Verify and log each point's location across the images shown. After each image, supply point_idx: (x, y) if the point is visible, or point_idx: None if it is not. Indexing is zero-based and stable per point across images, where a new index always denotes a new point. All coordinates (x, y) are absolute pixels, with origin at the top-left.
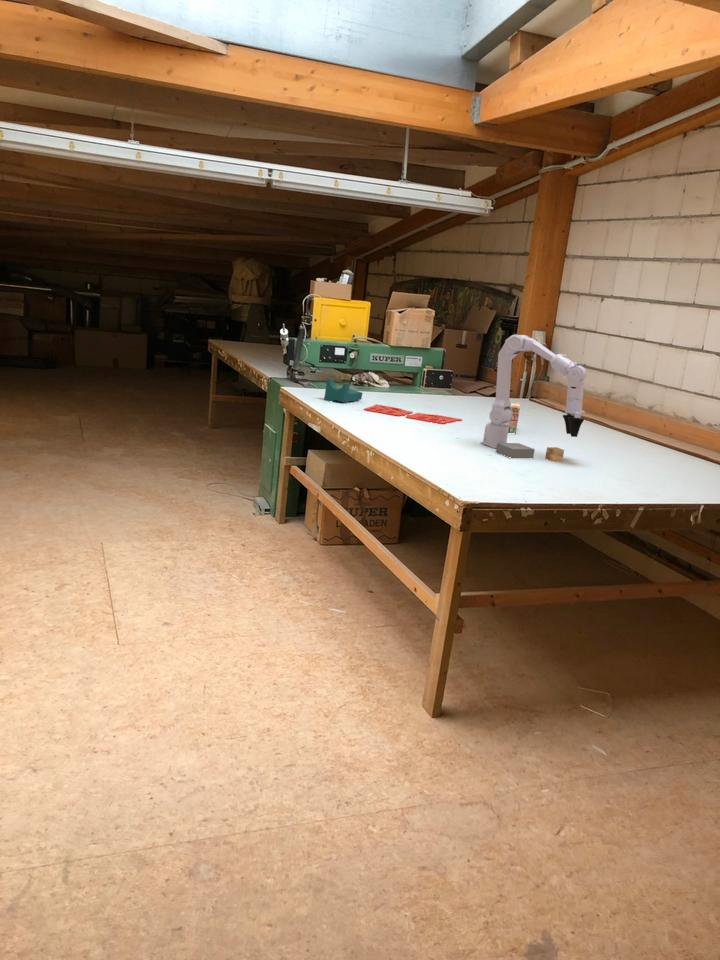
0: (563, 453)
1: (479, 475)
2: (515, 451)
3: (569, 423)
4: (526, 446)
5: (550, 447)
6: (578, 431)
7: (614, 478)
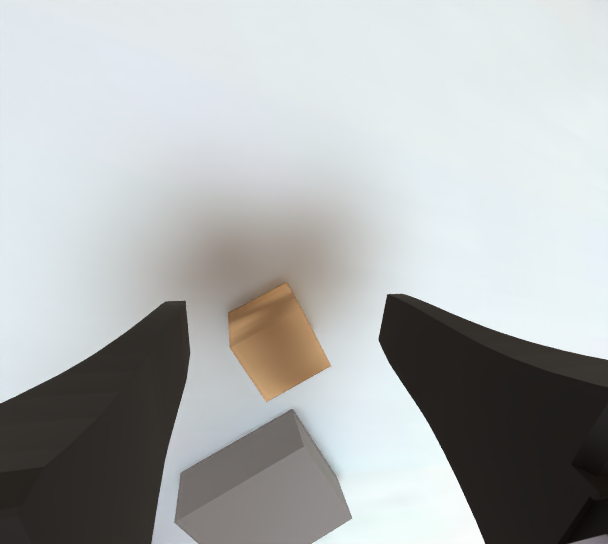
0: (297, 301)
1: None
2: (342, 497)
3: (152, 441)
4: (251, 483)
5: (262, 384)
6: (445, 312)
7: (564, 85)
